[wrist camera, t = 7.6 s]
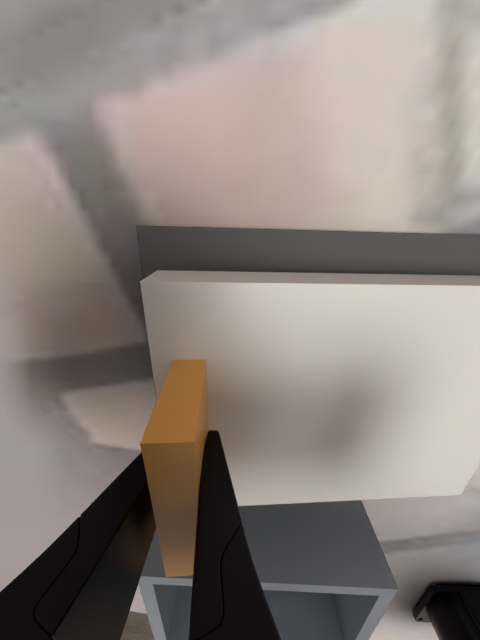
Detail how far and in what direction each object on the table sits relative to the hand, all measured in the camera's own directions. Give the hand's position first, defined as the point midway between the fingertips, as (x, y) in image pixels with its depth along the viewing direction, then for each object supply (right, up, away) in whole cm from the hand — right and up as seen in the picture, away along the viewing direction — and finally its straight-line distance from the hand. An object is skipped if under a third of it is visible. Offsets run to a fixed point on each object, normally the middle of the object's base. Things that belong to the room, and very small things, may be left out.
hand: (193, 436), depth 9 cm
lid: (+6, +1, +3) cm, 7 cm away
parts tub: (+3, -12, +10) cm, 16 cm away
